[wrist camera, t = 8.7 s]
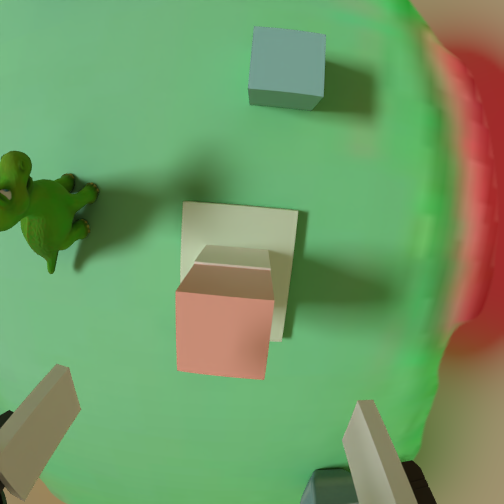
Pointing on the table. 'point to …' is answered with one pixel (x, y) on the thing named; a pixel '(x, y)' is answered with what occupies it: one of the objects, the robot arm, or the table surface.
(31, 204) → the toy
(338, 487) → the flower pot
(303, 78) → the brick teal
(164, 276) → the table surface
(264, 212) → the plate
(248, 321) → the brick coral
